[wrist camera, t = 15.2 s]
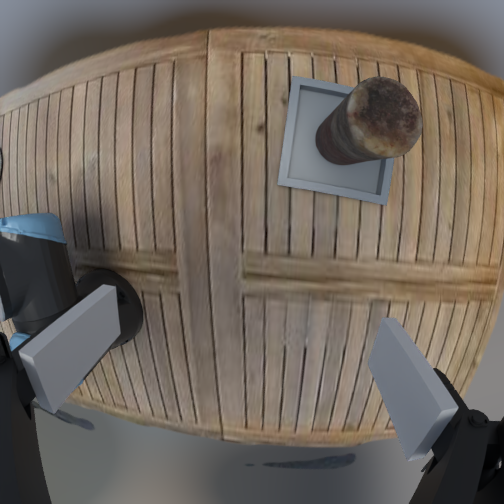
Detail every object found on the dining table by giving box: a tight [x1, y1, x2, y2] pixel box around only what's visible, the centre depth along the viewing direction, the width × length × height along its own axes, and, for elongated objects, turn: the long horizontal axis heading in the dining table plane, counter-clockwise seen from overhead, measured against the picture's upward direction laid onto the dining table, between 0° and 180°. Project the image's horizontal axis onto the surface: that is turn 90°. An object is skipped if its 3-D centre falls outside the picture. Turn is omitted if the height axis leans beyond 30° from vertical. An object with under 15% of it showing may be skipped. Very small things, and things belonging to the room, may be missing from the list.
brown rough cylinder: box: [315, 77, 423, 165], centre depth 29 cm, size 8×7×20 cm
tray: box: [277, 76, 394, 206], centre depth 38 cm, size 16×16×3 cm
